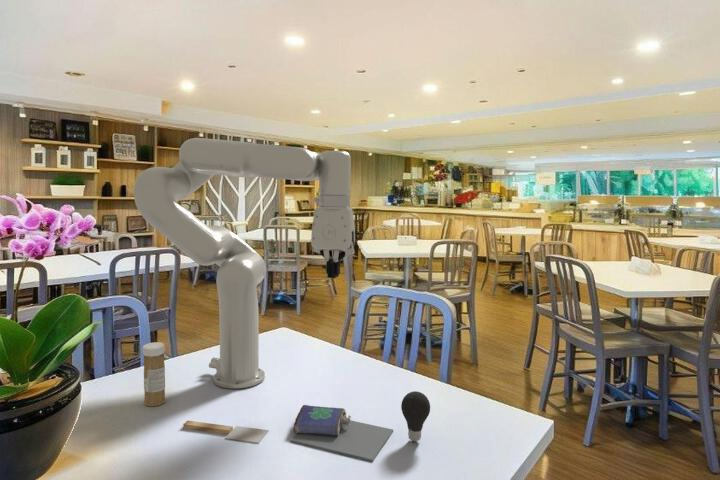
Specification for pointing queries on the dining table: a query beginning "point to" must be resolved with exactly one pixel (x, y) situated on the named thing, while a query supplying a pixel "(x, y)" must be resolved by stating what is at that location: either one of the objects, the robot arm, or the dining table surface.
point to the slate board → (349, 440)
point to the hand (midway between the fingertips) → (333, 277)
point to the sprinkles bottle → (154, 373)
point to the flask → (320, 420)
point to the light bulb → (415, 413)
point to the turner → (229, 431)
